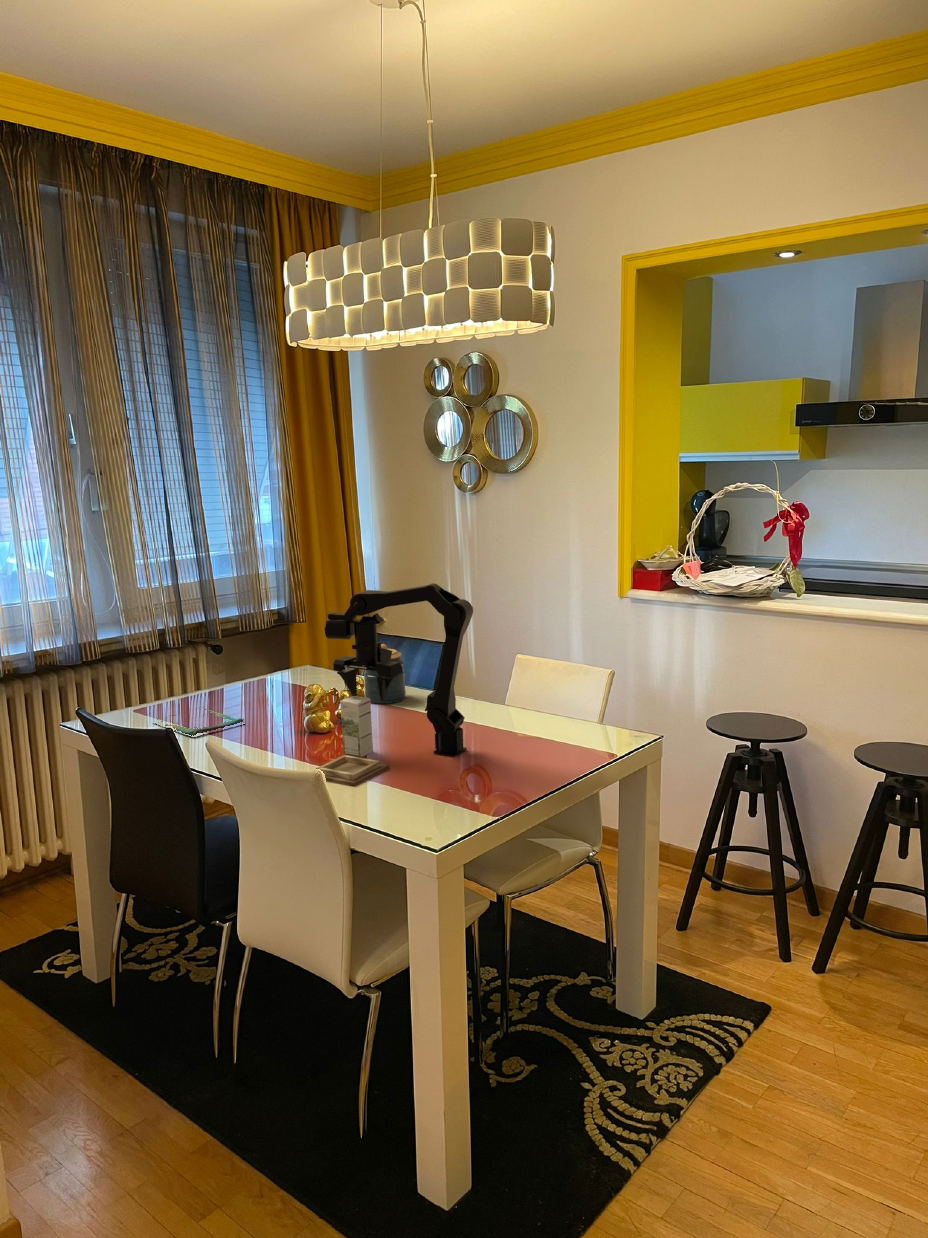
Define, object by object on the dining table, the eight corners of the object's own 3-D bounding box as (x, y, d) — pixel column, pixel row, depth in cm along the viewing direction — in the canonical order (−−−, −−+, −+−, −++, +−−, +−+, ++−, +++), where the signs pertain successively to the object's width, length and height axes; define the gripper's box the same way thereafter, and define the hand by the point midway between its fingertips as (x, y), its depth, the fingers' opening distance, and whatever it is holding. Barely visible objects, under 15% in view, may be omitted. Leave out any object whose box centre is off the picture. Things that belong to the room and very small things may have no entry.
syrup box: (374, 751, 237) (371, 697, 235) (360, 758, 232) (357, 702, 230) (356, 748, 240) (353, 694, 237) (342, 755, 235) (339, 700, 232)
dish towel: (193, 740, 253) (192, 732, 252) (151, 725, 269) (150, 717, 268) (246, 726, 265) (245, 718, 265) (203, 712, 281) (202, 704, 281)
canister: (390, 691, 297) (388, 638, 294) (414, 699, 287) (412, 643, 284) (356, 699, 289) (354, 644, 286) (380, 707, 279) (377, 650, 276)
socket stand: (389, 768, 224) (389, 760, 224) (354, 786, 212) (353, 778, 212) (343, 759, 231) (343, 752, 231) (307, 777, 219) (307, 769, 219)
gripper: (413, 637, 238) (415, 695, 240) (356, 631, 247) (359, 687, 250) (388, 645, 228) (390, 705, 231) (330, 639, 238) (333, 697, 241)
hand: (368, 698), depth 238 cm, fingers open, 9 cm apart
